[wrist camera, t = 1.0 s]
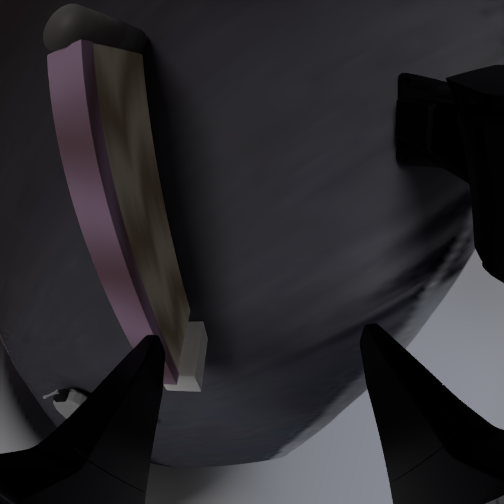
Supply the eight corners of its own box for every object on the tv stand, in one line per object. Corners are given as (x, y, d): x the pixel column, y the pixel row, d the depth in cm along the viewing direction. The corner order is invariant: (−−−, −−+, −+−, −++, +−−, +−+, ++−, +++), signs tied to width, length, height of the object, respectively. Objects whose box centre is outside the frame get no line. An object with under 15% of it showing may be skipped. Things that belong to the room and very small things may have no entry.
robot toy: (107, 368, 32) (47, 379, 34) (99, 395, 28) (39, 400, 30) (158, 412, 38) (96, 418, 40) (155, 437, 34) (91, 438, 36)
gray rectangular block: (203, 321, 25) (194, 376, 20) (208, 338, 26) (201, 391, 21) (171, 321, 25) (158, 374, 20) (178, 338, 27) (166, 389, 21)
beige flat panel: (113, 34, 12) (43, 16, 6) (145, 24, 12) (84, -5, 6) (170, 311, 24) (150, 383, 18) (194, 310, 24) (179, 384, 17)
